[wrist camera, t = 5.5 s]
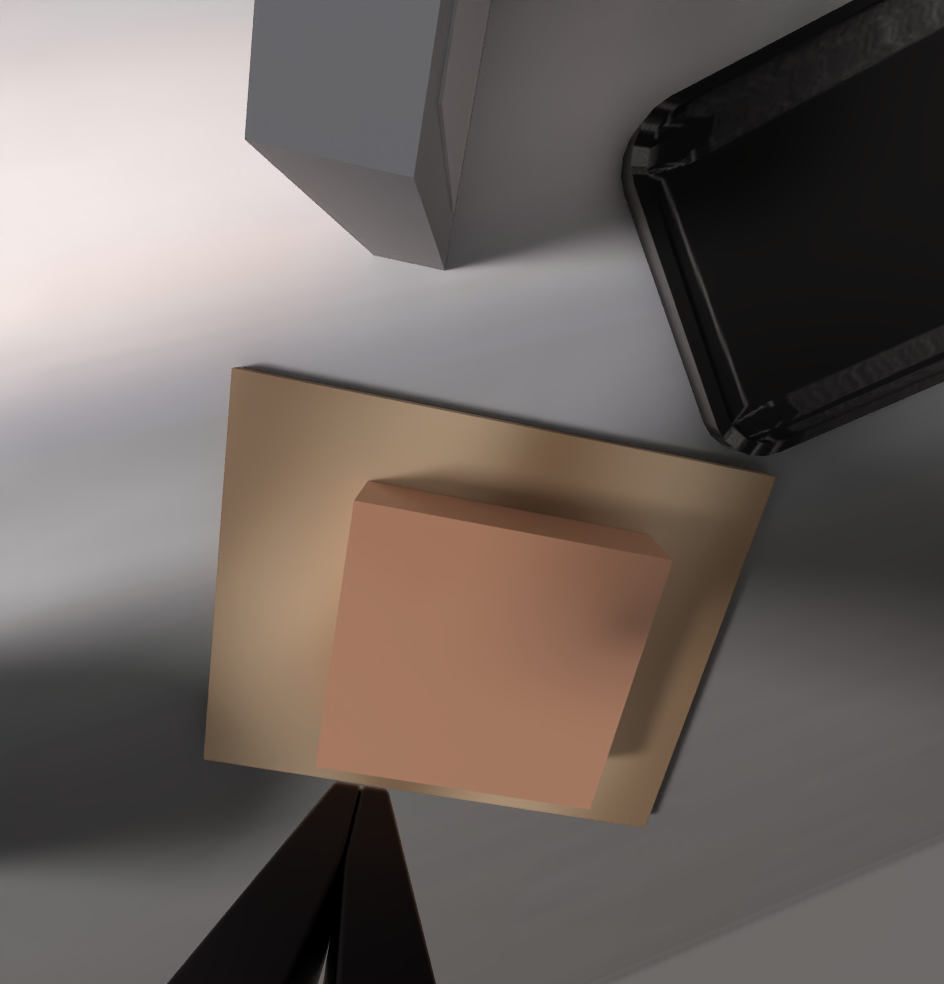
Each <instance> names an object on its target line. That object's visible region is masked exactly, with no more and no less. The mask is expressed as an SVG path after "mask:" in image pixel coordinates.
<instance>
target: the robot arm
mask: <svg viewBox="0 0 944 984" xmlns="http://www.w3.org/2000/svg"><path fill="white" fill-rule="evenodd" d="M329 942H330V943H329ZM328 946H329V949H328ZM327 950H328V955H327V961H326V968H325V975H324V982H323V984H436V982H435V978H434V974H433V970H432V966H431V962H430V958H429V954H428V950H427V946H426V941H425V937H424V933H423V929H422V925H421V921H420V917H419V913H418V909H417V905H416V901H415V897H414V893H413V889H412V885H411V880H410V876H409V872H408V868H407V864H406V860H405V856H404V852H403V848H402V844H401V840H400V836H399V832H398V828H397V823H396V819H395V815H394V811H393V807H392V803H391V799H390V795H389V793H388V791H387V790H386V789H383V788H376V787H370V786H364V787H363V788H362V789H360V786H359V785H357V784H350V783H343V782H336V783H334V784H333V785H332V786H331V787H330V788H329V790H328V791H327V792H326V793H325V794H324V796H323V797H322V798H321V799H320V800H319V802H318V803H317V804H316V805H315V806H314V808H313V809H312V810H311V811H310V812H309V814H308V815H307V816H306V817H305V818H304V820H303V821H302V822H301V823H300V824H299V826H298V827H297V828H296V829H295V830H294V832H293V833H292V834H291V835H290V836H289V838H288V839H287V840H286V841H285V842H284V844H283V845H282V846H281V847H280V848H279V850H278V851H277V852H276V853H275V854H274V856H273V857H272V858H271V859H270V861H269V862H268V863H267V864H266V865H265V867H264V868H263V869H262V870H261V871H260V873H259V874H258V875H257V876H256V877H255V879H254V880H253V881H252V882H251V883H250V885H249V886H248V887H247V888H246V889H245V891H244V892H243V893H242V894H241V895H240V897H239V898H238V899H237V900H236V901H235V903H234V904H233V905H232V906H231V907H230V909H229V910H228V911H227V912H226V913H225V915H224V916H223V917H222V918H221V919H220V921H219V922H218V923H217V924H216V925H215V927H214V928H213V929H212V930H211V932H210V933H209V934H208V935H207V936H206V938H205V939H204V940H203V941H202V942H201V944H200V945H199V946H198V947H197V948H196V950H195V951H194V952H193V953H192V954H191V956H190V957H189V958H188V959H187V960H186V962H185V963H184V964H183V965H182V966H181V968H180V969H179V970H178V971H177V972H176V974H175V975H174V976H173V977H172V978H171V980H170V981H169V982H168V983H167V984H318V982H319V978H320V975H321V972H322V968H323V965H324V962H325V958H326V954H327Z"/></svg>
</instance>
